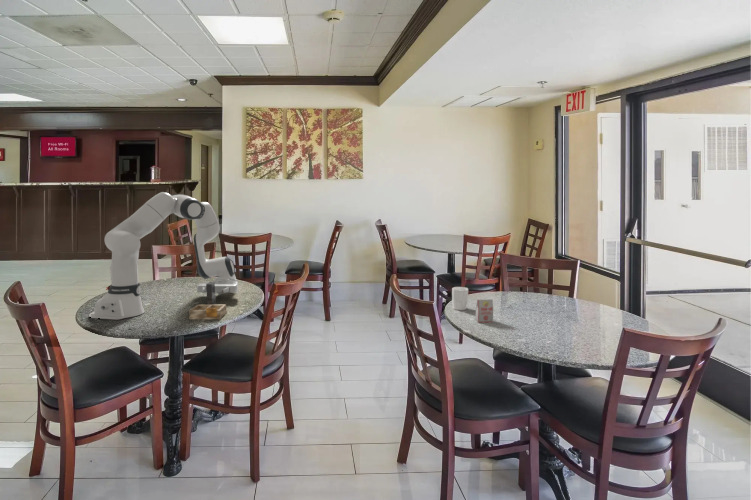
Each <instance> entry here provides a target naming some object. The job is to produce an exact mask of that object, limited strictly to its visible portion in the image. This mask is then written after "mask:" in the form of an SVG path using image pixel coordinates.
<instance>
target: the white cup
mask: <svg viewBox="0 0 751 500" xmlns="http://www.w3.org/2000/svg"><path fill="white" fill-rule="evenodd" d="M468 296H469V288H468V287H464V286H454V287H452V288H451V301H452V309H453V310H455V311H465V310H467V306H468V299H469V297H468Z"/></svg>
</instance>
